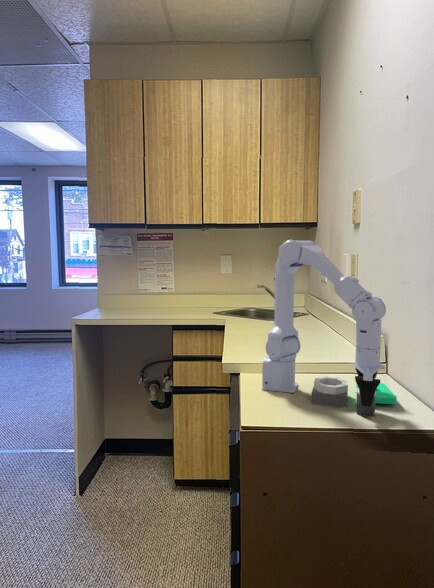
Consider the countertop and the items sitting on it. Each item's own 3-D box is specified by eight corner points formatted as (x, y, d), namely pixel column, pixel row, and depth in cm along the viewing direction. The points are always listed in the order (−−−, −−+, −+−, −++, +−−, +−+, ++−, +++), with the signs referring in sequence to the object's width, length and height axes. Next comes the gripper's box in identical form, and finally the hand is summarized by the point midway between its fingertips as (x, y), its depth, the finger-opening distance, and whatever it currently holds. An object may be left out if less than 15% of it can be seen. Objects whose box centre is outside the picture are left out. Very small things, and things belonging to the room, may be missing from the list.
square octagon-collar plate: (311, 403, 105) (311, 385, 105) (314, 391, 114) (315, 375, 113) (346, 407, 102) (347, 388, 102) (347, 395, 111) (348, 378, 110)
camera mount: (397, 407, 103) (399, 369, 101) (367, 406, 103) (368, 368, 102) (383, 391, 114) (384, 357, 113) (356, 390, 115) (357, 356, 114)
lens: (355, 416, 97) (356, 392, 97) (355, 409, 102) (356, 386, 101) (375, 418, 96) (376, 394, 95) (374, 411, 100) (375, 388, 99)
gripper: (387, 355, 89) (385, 413, 90) (383, 341, 102) (381, 392, 104) (354, 352, 91) (352, 409, 92) (354, 339, 105) (353, 389, 106)
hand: (366, 400), depth 98 cm, fingers open, 7 cm apart
